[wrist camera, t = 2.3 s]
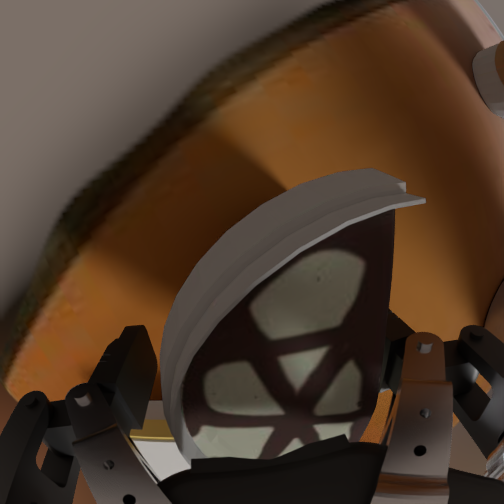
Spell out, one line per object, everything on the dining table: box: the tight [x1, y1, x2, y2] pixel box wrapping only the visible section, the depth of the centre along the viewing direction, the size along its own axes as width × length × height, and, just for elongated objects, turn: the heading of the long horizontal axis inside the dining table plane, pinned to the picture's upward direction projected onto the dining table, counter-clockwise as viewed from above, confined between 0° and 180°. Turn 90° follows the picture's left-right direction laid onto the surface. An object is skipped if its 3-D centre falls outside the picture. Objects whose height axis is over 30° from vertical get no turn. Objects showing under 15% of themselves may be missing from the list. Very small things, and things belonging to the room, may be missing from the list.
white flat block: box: [129, 401, 191, 480], centre depth 17 cm, size 14×16×4 cm
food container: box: [160, 168, 426, 467], centre depth 10 cm, size 12×6×10 cm, turn 6°
